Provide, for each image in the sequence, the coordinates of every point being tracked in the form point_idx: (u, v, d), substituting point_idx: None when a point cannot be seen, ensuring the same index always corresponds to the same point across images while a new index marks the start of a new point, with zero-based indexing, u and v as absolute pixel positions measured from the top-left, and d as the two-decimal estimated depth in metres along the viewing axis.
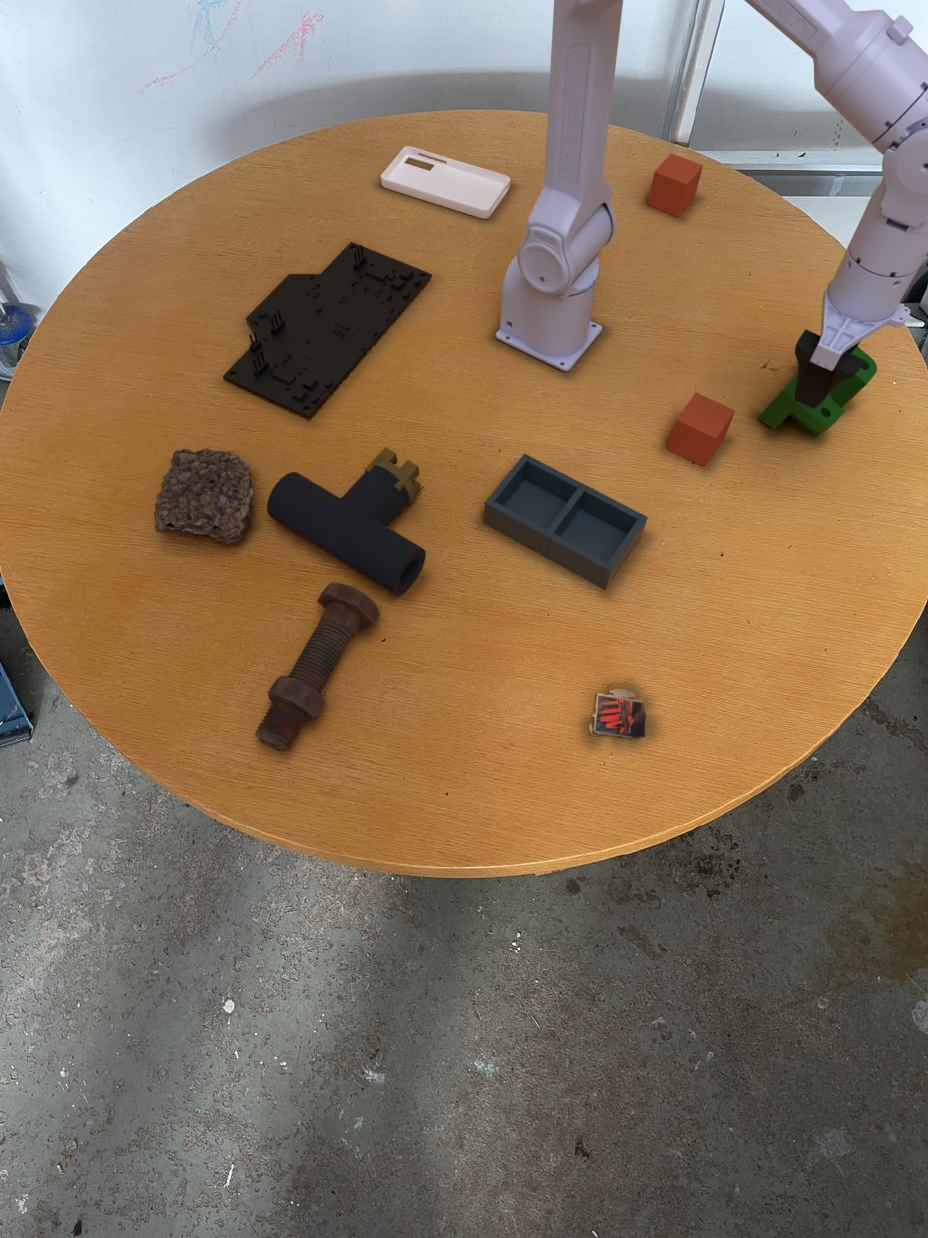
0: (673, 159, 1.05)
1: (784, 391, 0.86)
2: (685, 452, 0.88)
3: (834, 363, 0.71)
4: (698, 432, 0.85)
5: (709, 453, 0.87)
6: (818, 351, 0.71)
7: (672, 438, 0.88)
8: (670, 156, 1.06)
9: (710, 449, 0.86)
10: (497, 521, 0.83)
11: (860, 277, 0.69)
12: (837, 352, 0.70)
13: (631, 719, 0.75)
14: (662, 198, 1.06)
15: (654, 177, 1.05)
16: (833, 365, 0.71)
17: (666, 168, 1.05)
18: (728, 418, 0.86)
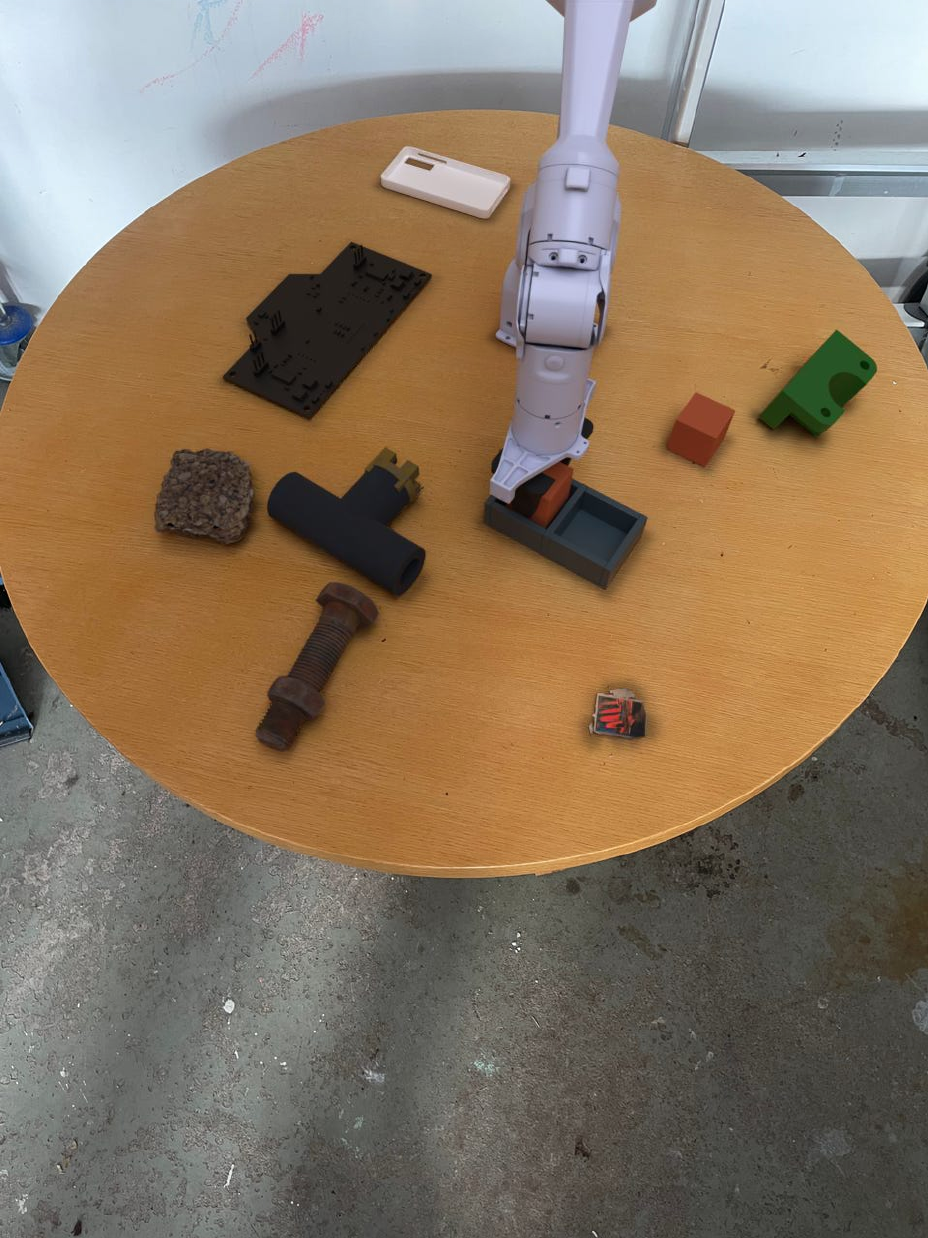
0: None
1: (784, 391, 0.86)
2: (685, 452, 0.88)
3: (508, 497, 0.72)
4: (698, 432, 0.85)
5: (709, 453, 0.87)
6: (492, 486, 0.72)
7: (672, 438, 0.88)
8: None
9: (710, 449, 0.86)
10: (497, 521, 0.83)
11: (524, 417, 0.70)
12: (507, 488, 0.71)
13: (631, 719, 0.75)
14: None
15: None
16: (508, 499, 0.72)
17: None
18: (728, 418, 0.86)
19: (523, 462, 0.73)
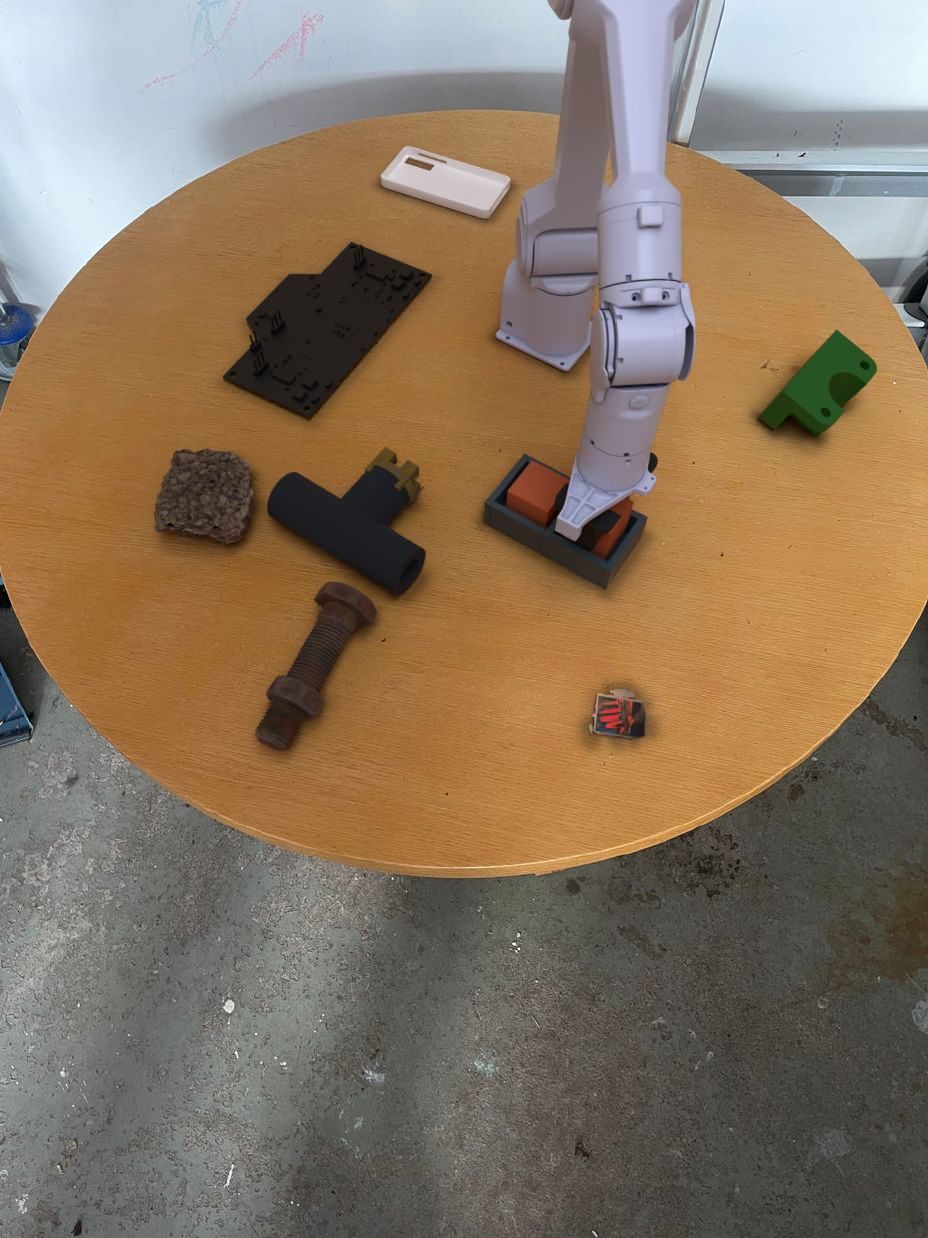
0: (533, 471, 0.82)
1: (784, 391, 0.86)
2: None
3: (575, 535, 0.71)
4: None
5: (605, 548, 0.79)
6: (559, 523, 0.71)
7: None
8: (530, 466, 0.82)
9: (606, 545, 0.78)
10: (497, 521, 0.83)
11: (594, 454, 0.69)
12: (575, 526, 0.70)
13: (631, 719, 0.75)
14: None
15: (508, 496, 0.81)
16: (575, 536, 0.71)
17: (523, 485, 0.81)
18: (625, 511, 0.78)
19: (590, 498, 0.72)
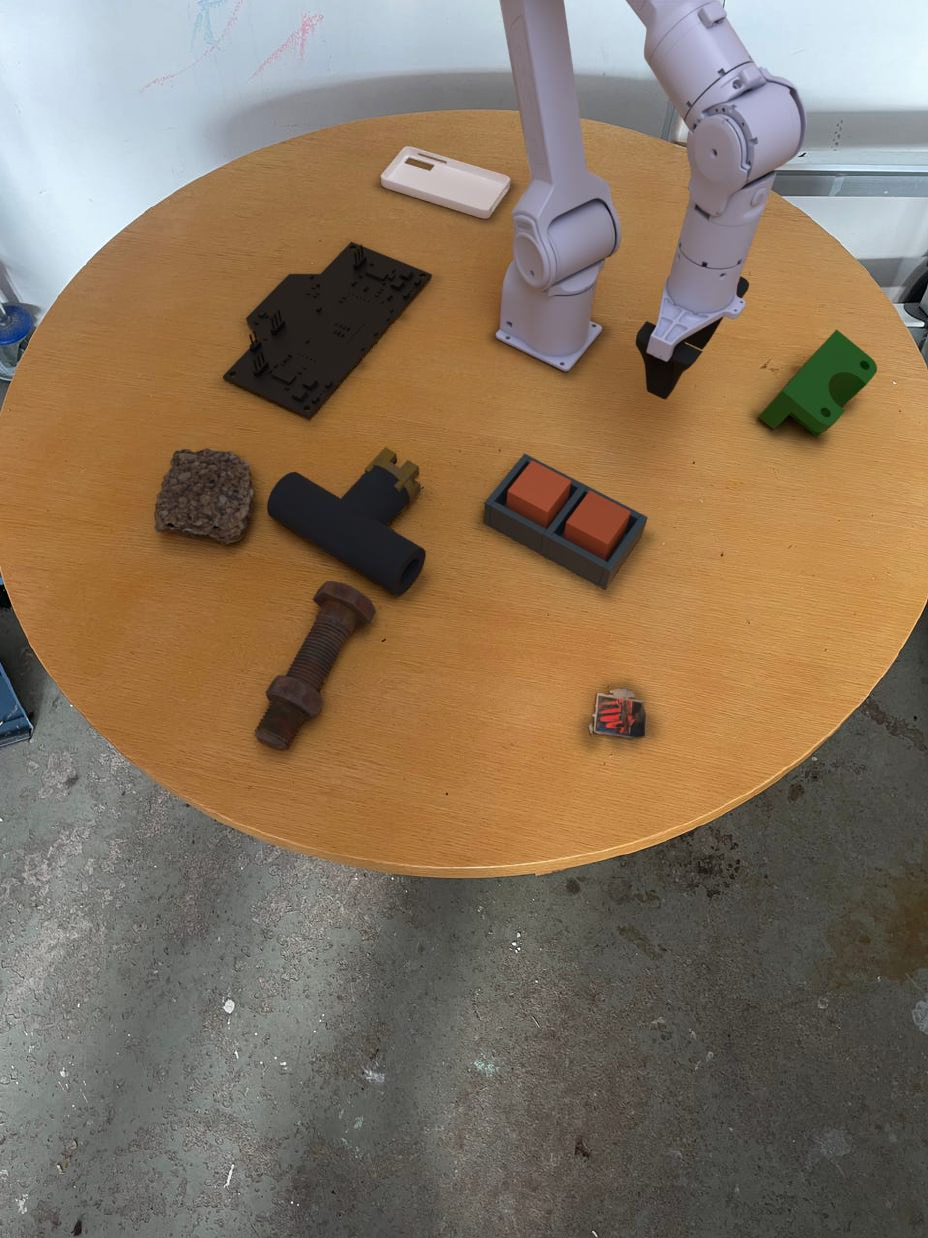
0: (533, 471, 0.82)
1: (784, 391, 0.86)
2: None
3: (667, 354, 0.72)
4: (590, 537, 0.79)
5: (603, 557, 0.80)
6: (652, 342, 0.72)
7: None
8: (530, 466, 0.82)
9: (603, 554, 0.80)
10: (497, 521, 0.83)
11: (688, 269, 0.70)
12: (668, 343, 0.71)
13: (631, 719, 0.75)
14: None
15: (508, 496, 0.81)
16: (667, 356, 0.72)
17: (523, 485, 0.81)
18: (622, 521, 0.79)
19: (681, 320, 0.73)
